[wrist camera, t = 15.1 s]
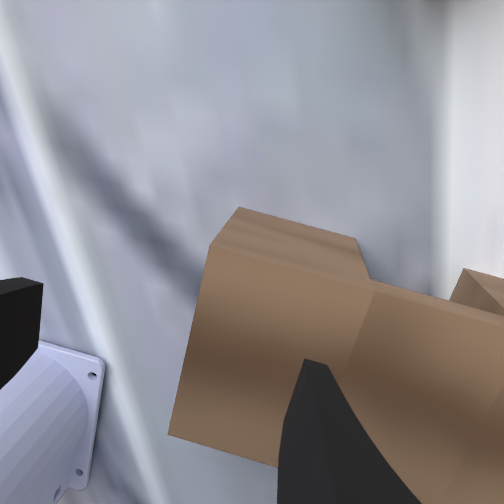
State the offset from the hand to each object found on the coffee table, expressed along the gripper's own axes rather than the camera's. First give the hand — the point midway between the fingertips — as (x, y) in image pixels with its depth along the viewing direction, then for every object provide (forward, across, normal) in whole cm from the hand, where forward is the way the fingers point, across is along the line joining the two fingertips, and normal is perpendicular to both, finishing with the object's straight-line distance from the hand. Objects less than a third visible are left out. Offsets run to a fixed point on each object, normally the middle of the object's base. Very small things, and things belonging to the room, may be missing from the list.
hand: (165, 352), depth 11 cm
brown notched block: (+9, -8, +2) cm, 13 cm away
